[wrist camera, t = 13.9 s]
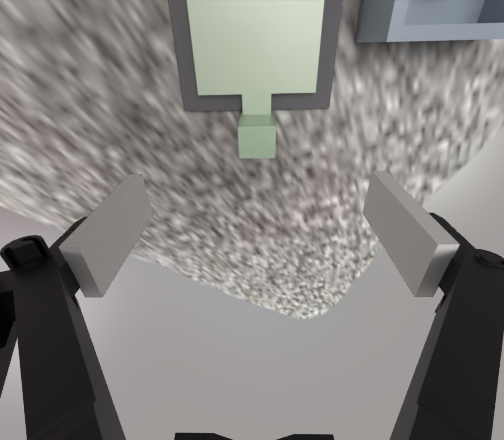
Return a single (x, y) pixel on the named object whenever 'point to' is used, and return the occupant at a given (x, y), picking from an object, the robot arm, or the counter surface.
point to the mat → (235, 101)
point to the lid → (256, 58)
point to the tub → (429, 20)
